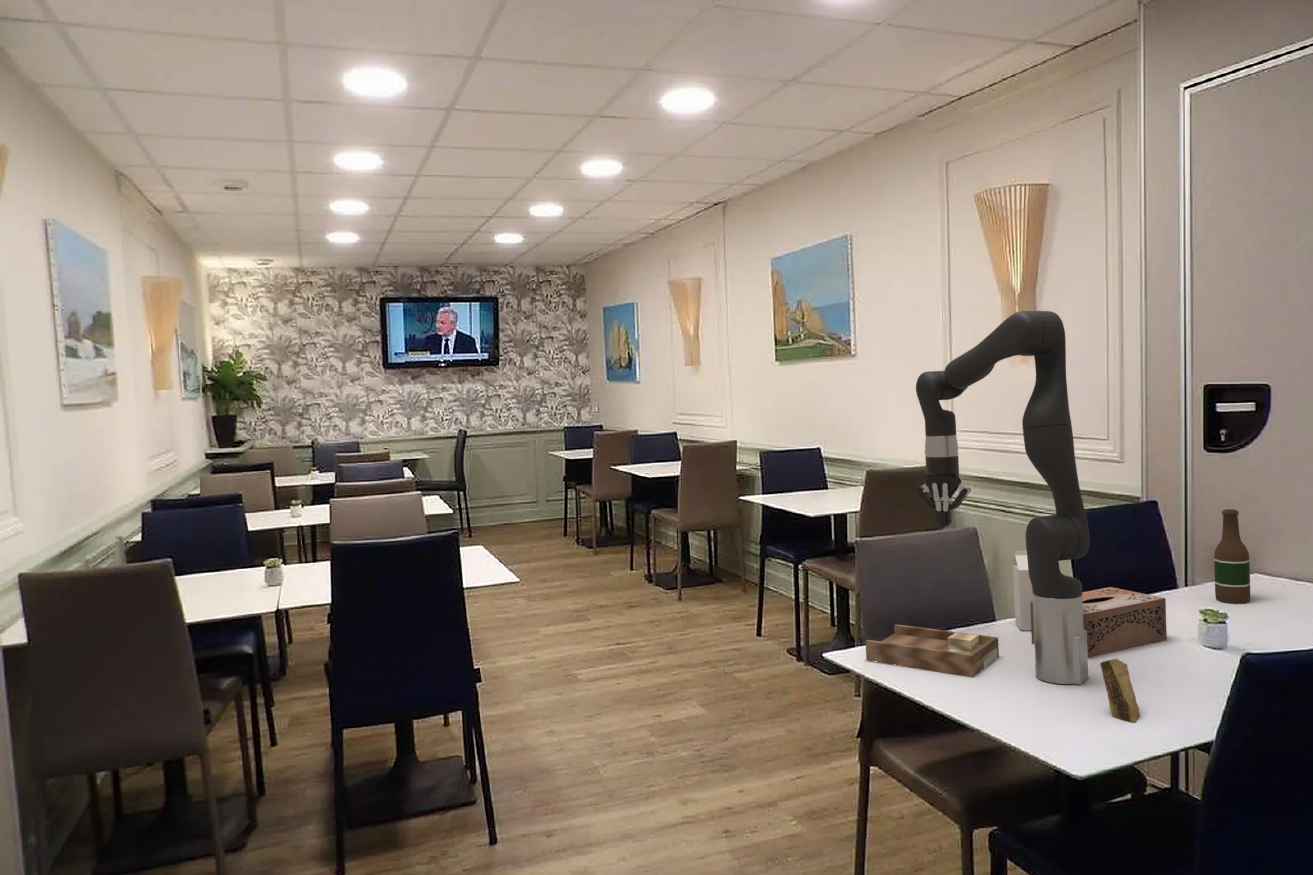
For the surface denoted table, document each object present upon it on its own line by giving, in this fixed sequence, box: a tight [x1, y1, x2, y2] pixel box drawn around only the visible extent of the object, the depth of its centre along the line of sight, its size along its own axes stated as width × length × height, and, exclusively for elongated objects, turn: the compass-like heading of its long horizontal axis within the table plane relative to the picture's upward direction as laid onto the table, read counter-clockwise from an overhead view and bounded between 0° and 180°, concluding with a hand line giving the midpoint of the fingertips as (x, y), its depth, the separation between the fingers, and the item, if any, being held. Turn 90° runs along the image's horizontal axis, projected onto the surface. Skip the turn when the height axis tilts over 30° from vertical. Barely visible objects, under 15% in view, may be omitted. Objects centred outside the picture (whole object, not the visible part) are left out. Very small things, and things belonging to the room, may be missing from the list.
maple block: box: [948, 631, 979, 652], centre depth 196 cm, size 5×5×2 cm
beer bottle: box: [1213, 508, 1251, 605], centre depth 231 cm, size 8×8×24 cm
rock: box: [1099, 658, 1141, 724], centre depth 160 cm, size 11×9×10 cm
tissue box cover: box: [1030, 586, 1168, 659], centre depth 203 cm, size 26×14×10 cm, turn 113°
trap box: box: [865, 623, 1000, 678], centre depth 197 cm, size 24×16×4 cm, turn 50°
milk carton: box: [1012, 550, 1033, 631], centre depth 218 cm, size 7×7×19 cm
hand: (944, 526), depth 212 cm, fingers closed
